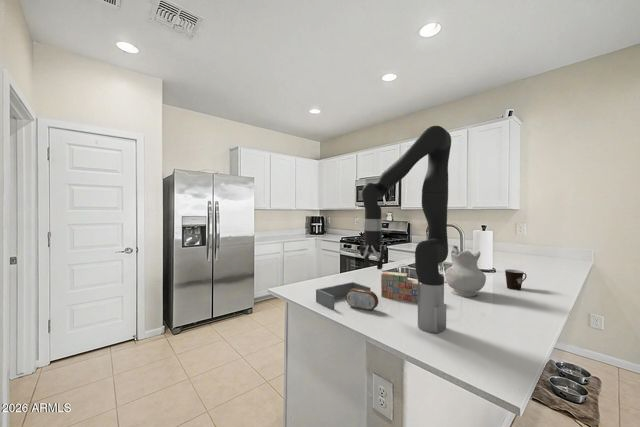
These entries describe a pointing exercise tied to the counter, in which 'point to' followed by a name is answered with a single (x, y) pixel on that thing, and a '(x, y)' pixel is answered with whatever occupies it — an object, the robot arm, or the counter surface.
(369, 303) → the digital alarm clock
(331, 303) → the box
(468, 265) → the ceramic pitcher
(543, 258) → the counter surface
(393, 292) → the stack of blocks
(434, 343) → the counter surface
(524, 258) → the counter surface
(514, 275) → the coffee mug
